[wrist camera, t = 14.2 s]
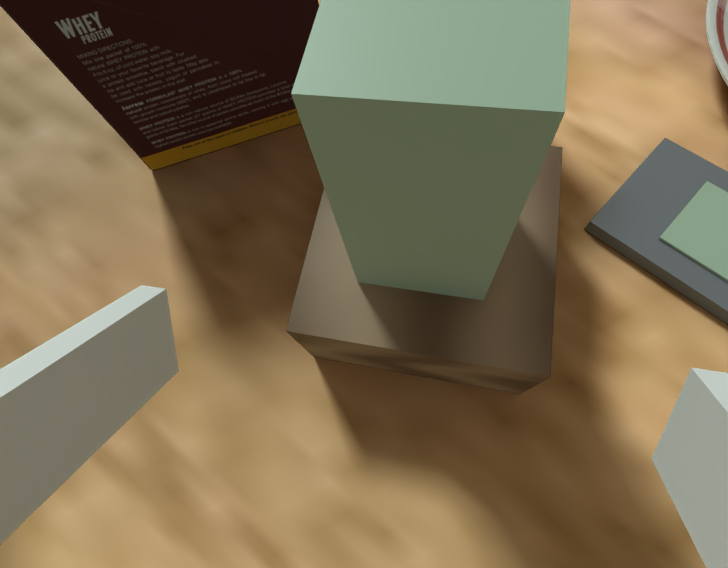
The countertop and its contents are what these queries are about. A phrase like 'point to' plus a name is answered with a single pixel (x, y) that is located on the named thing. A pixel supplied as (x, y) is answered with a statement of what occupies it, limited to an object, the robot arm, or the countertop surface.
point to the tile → (673, 224)
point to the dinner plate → (718, 34)
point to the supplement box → (177, 66)
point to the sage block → (431, 130)
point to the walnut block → (439, 306)
